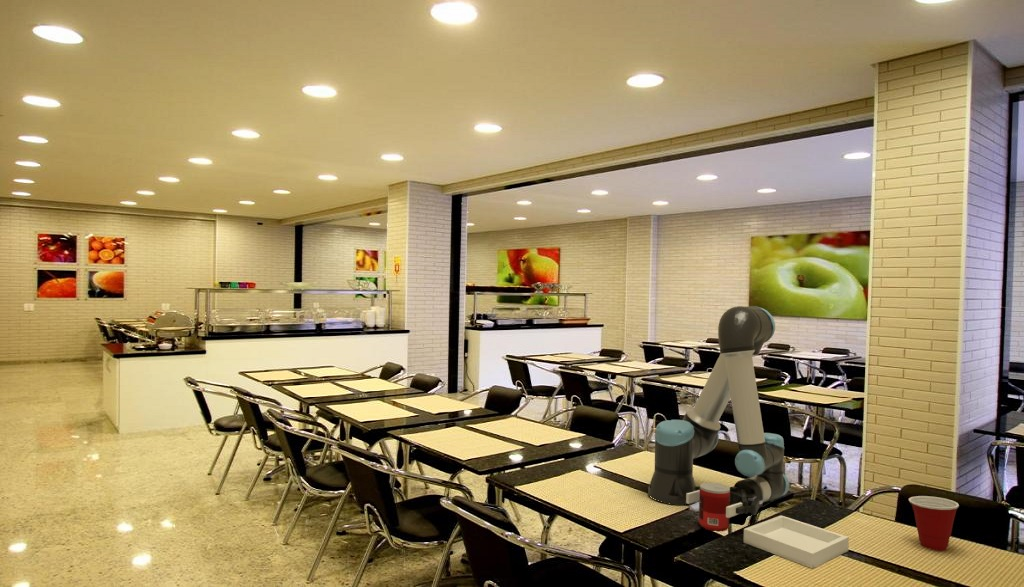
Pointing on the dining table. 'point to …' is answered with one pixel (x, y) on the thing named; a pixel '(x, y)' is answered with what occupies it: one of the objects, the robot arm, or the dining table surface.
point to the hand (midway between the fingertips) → (706, 505)
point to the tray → (796, 541)
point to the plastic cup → (934, 520)
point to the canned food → (714, 506)
